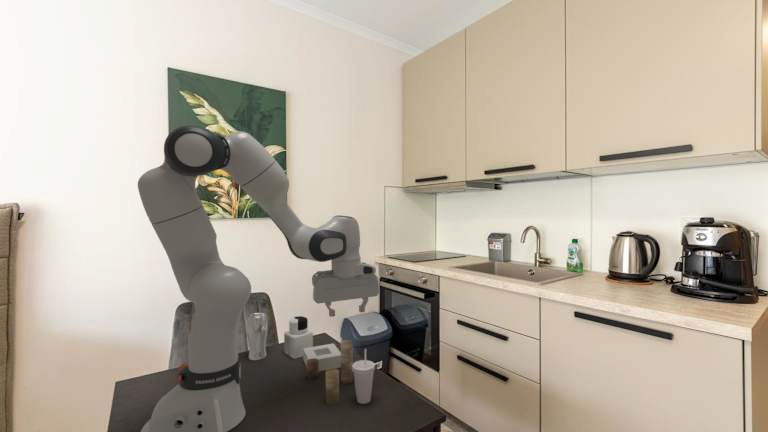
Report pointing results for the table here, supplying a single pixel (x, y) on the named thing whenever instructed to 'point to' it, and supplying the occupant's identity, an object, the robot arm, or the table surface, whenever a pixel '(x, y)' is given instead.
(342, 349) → the maple pin
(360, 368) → the smoothie
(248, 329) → the beer glass
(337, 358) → the socket block
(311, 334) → the container
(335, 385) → the oak pin
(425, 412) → the table surface
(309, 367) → the walnut pin
